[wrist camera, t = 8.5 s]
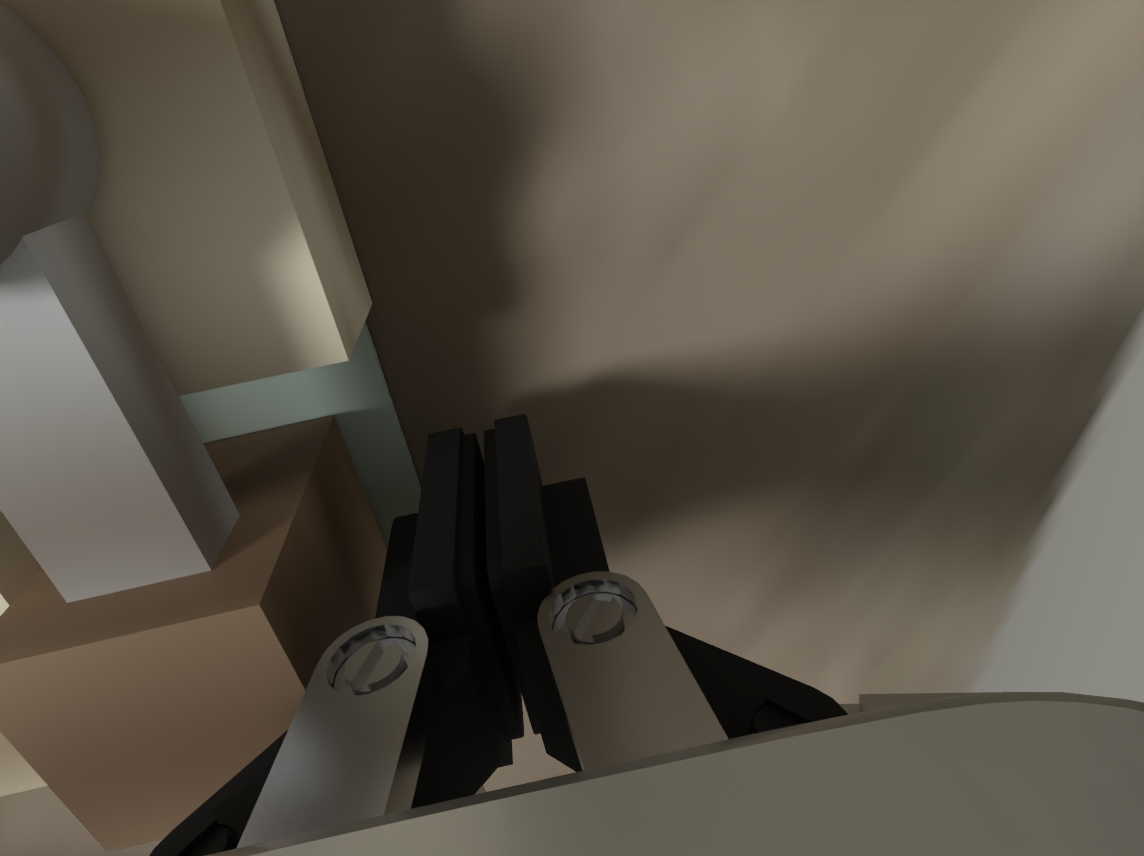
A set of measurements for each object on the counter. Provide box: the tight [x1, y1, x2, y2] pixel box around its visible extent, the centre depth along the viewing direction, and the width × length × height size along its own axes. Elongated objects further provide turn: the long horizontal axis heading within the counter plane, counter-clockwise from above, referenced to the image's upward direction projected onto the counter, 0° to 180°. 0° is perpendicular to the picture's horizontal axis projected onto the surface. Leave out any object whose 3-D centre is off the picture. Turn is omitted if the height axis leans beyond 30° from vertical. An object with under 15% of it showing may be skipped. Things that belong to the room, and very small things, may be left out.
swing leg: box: [0, 3, 387, 852], centre depth 9 cm, size 10×4×5 cm, turn 10°
